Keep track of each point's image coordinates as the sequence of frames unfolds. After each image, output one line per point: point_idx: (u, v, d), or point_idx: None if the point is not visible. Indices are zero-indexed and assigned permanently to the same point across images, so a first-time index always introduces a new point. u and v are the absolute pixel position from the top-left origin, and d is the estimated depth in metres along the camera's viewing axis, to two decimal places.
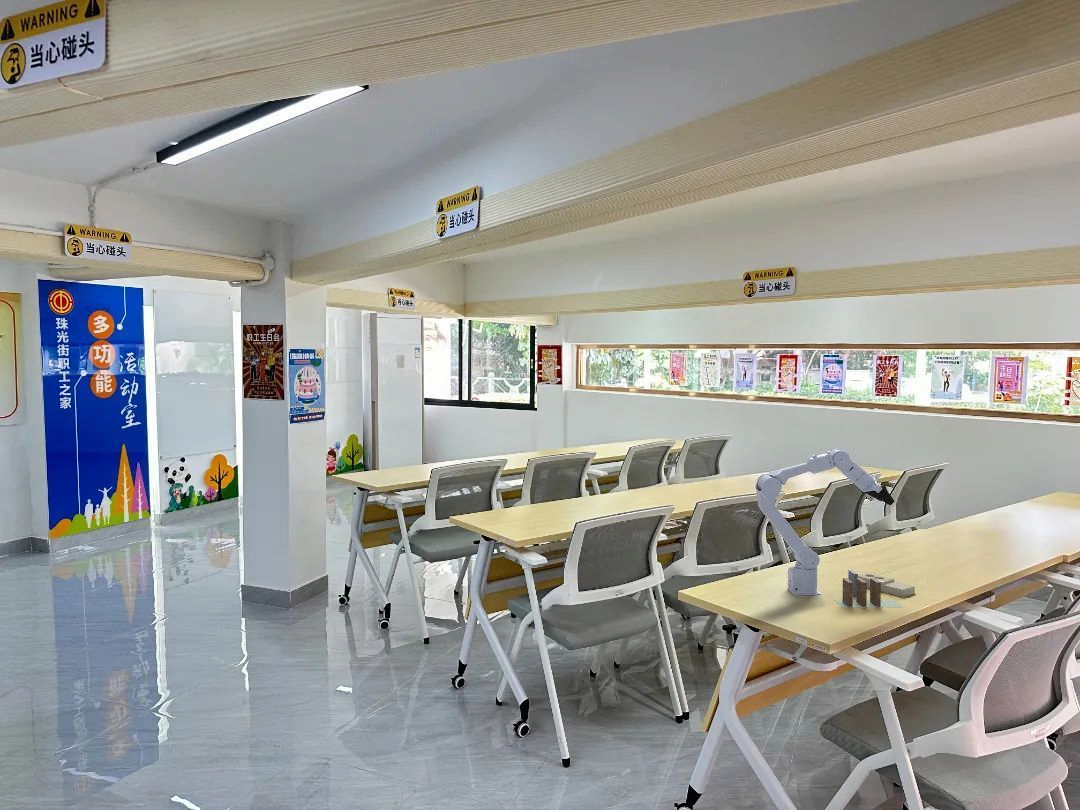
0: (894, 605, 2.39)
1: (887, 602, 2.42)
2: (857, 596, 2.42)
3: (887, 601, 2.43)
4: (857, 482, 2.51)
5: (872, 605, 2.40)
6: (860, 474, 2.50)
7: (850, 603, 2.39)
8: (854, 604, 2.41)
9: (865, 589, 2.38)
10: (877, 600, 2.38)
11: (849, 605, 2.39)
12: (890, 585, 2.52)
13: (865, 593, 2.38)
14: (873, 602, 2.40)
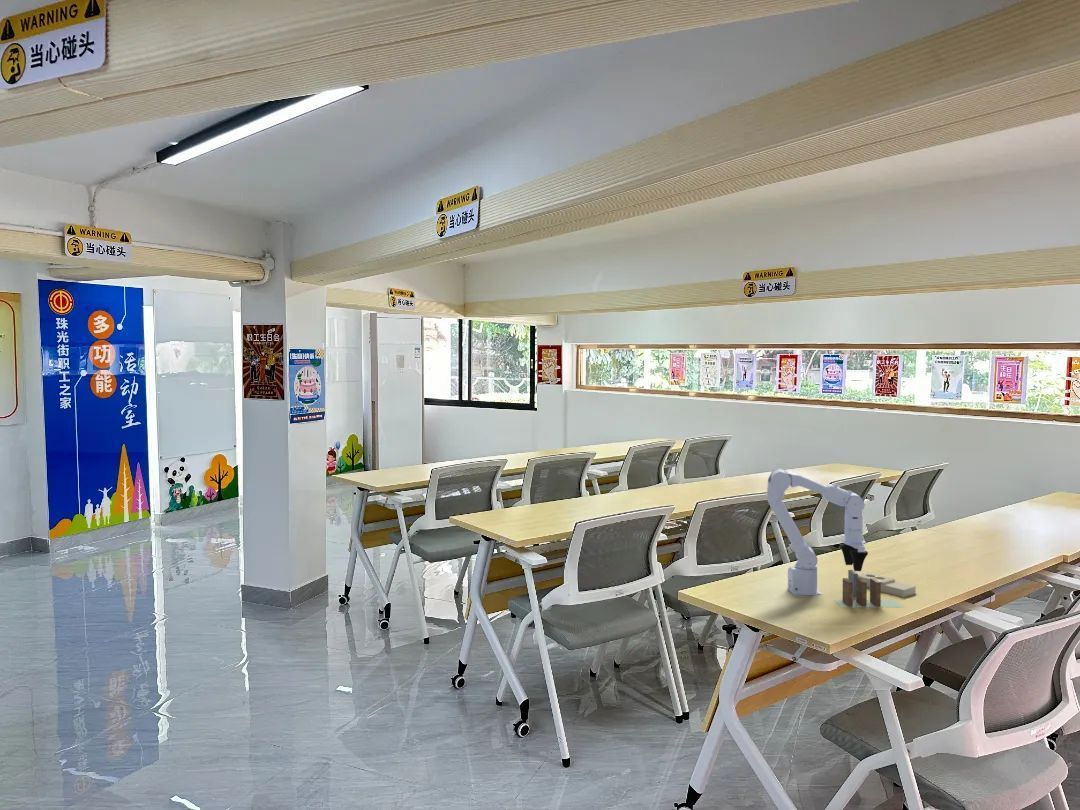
0: (894, 605, 2.39)
1: (887, 602, 2.42)
2: (857, 596, 2.42)
3: (887, 601, 2.43)
4: (849, 532, 2.49)
5: (872, 605, 2.40)
6: (856, 528, 2.48)
7: (850, 603, 2.39)
8: (854, 604, 2.41)
9: (865, 589, 2.38)
10: (877, 600, 2.38)
11: (849, 605, 2.39)
12: (891, 586, 2.52)
13: (865, 593, 2.38)
14: (873, 602, 2.40)
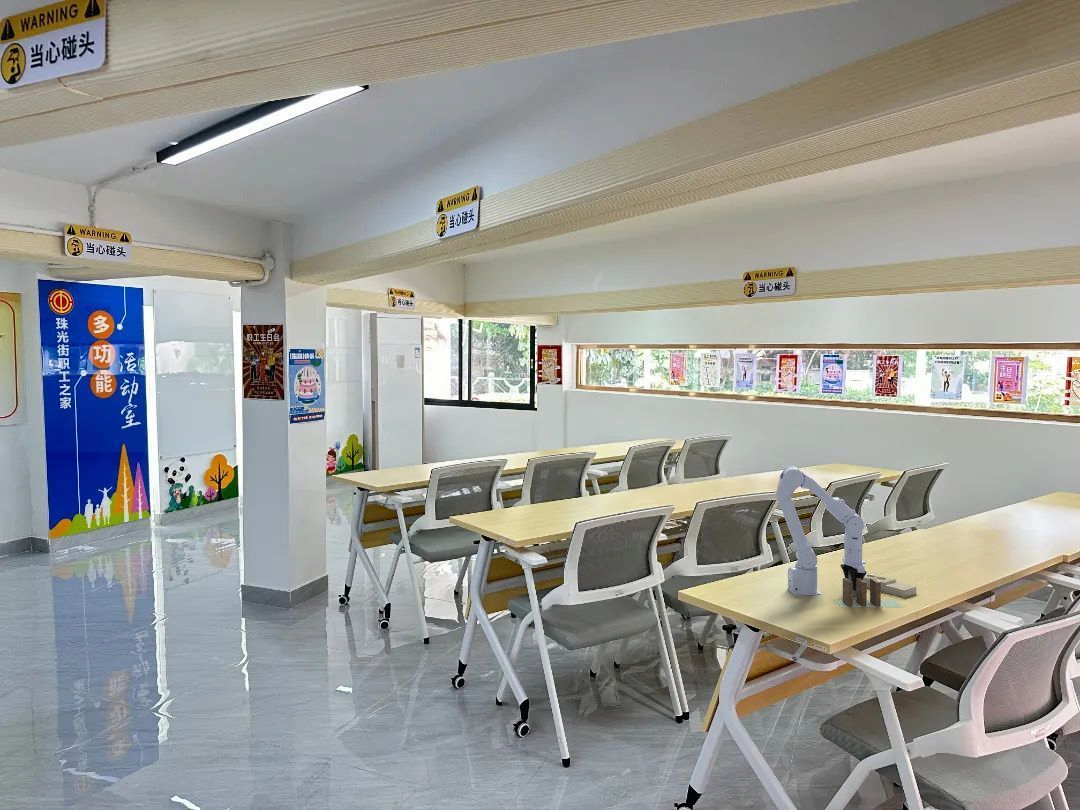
0: (894, 605, 2.39)
1: (887, 602, 2.42)
2: (857, 596, 2.42)
3: (887, 601, 2.43)
4: (849, 552, 2.49)
5: (872, 605, 2.40)
6: (856, 548, 2.48)
7: (850, 603, 2.39)
8: (854, 604, 2.41)
9: (865, 589, 2.38)
10: (877, 600, 2.38)
11: (849, 605, 2.39)
12: (892, 586, 2.52)
13: (865, 593, 2.38)
14: (873, 602, 2.40)
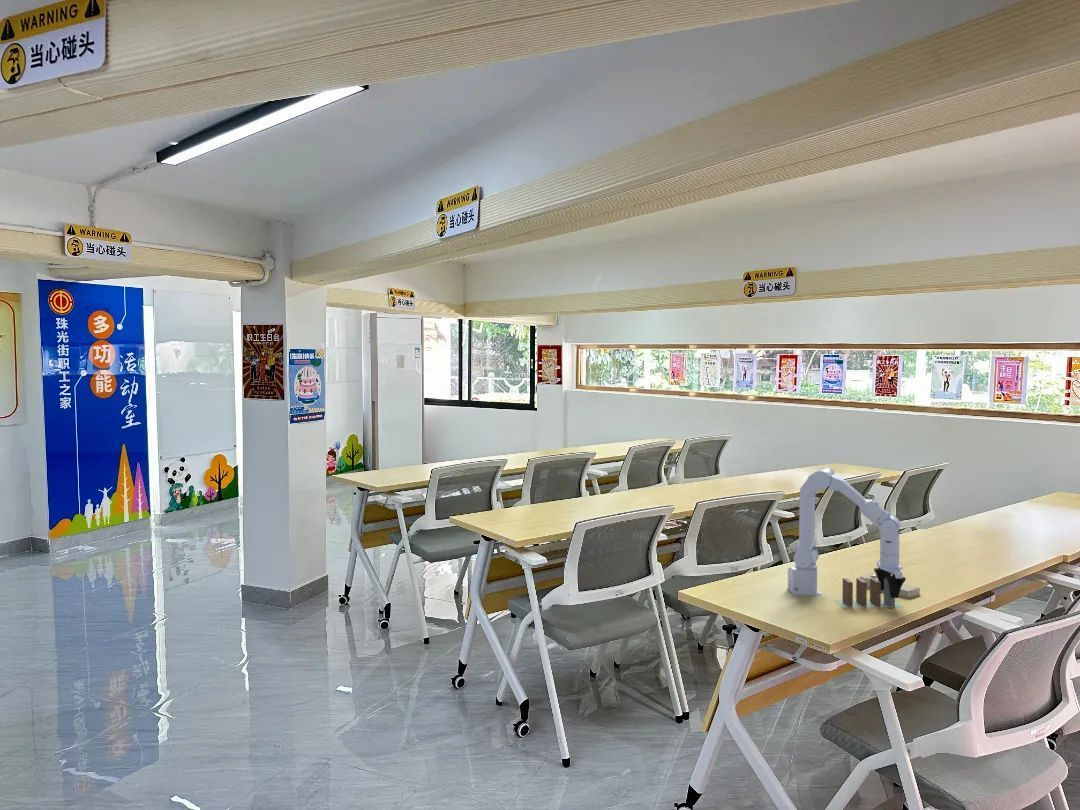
0: None
1: None
2: (857, 596, 2.42)
3: None
4: (885, 557, 2.38)
5: (872, 605, 2.40)
6: (889, 553, 2.37)
7: (850, 603, 2.39)
8: (854, 604, 2.41)
9: (865, 589, 2.38)
10: (877, 600, 2.38)
11: (849, 605, 2.39)
12: None
13: (865, 593, 2.38)
14: (873, 602, 2.40)
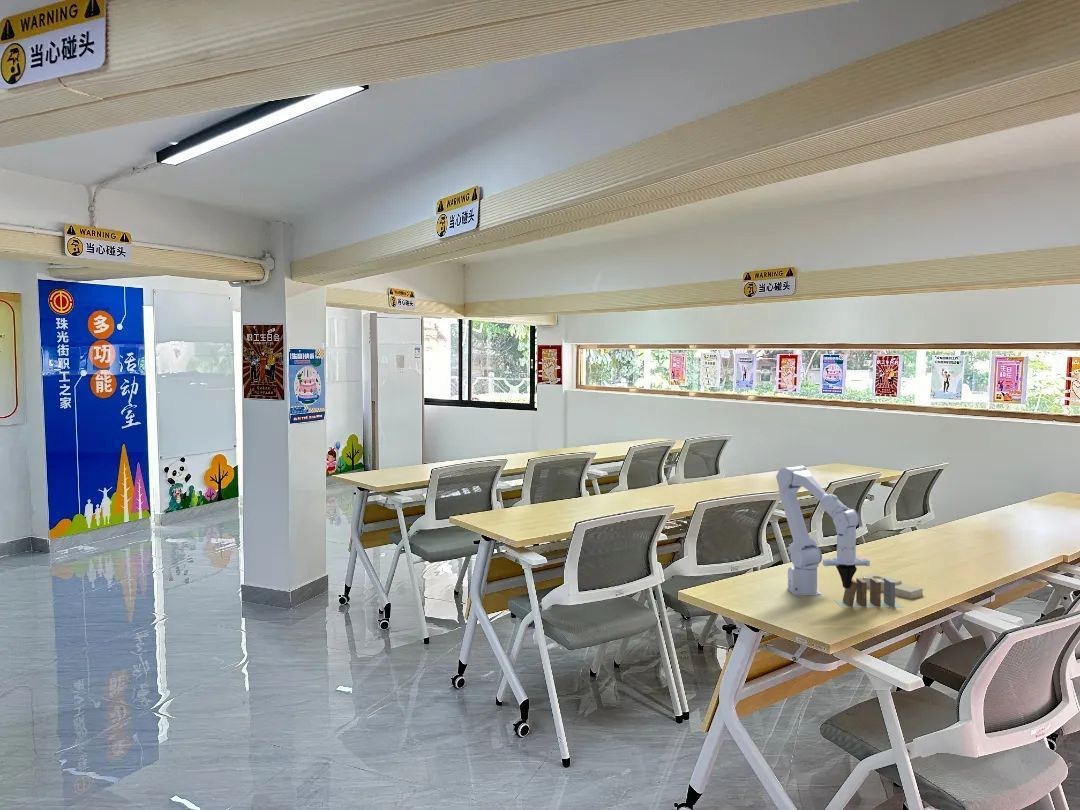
0: None
1: None
2: (857, 596, 2.42)
3: None
4: None
5: (872, 605, 2.40)
6: (841, 546, 2.38)
7: (851, 603, 2.39)
8: (854, 604, 2.41)
9: (865, 589, 2.38)
10: (877, 600, 2.38)
11: (849, 604, 2.39)
12: (898, 587, 2.50)
13: (865, 593, 2.38)
14: (873, 602, 2.40)
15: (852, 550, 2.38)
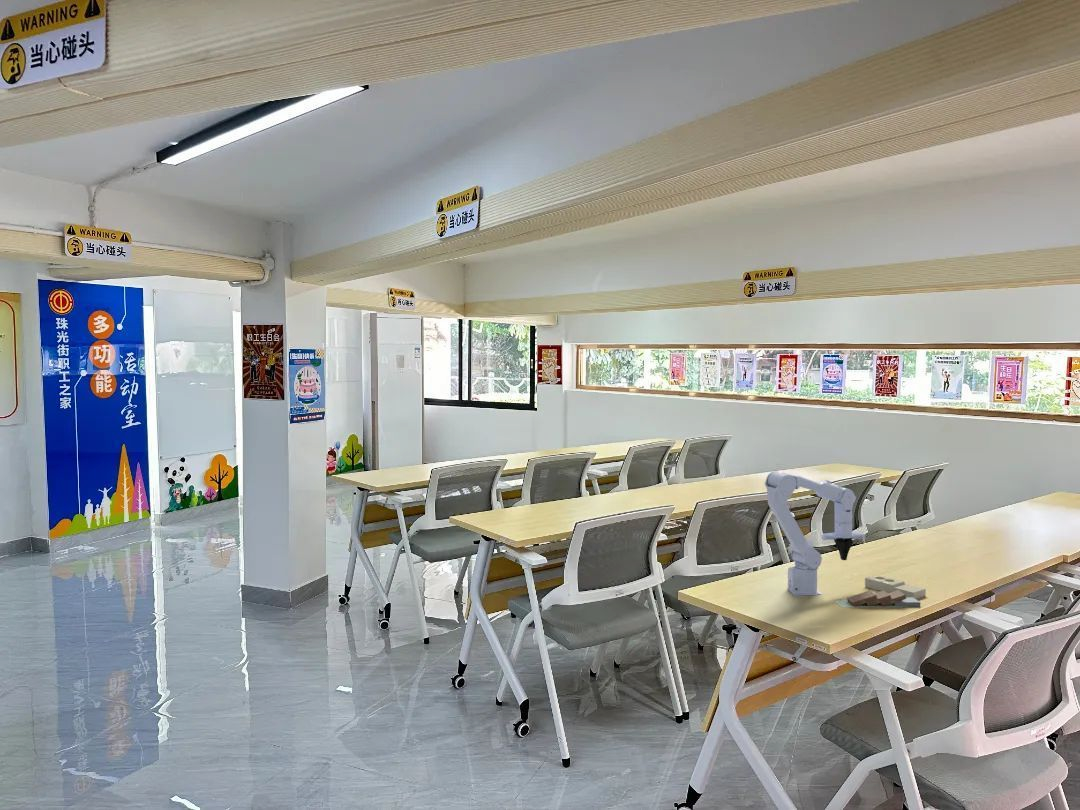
0: None
1: None
2: None
3: None
4: None
5: (872, 605, 2.40)
6: (849, 521, 2.55)
7: (856, 603, 2.39)
8: None
9: (884, 600, 2.38)
10: (887, 601, 2.38)
11: (853, 603, 2.39)
12: (901, 588, 2.49)
13: (880, 601, 2.38)
14: None
15: (849, 524, 2.55)
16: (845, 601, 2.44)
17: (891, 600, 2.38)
